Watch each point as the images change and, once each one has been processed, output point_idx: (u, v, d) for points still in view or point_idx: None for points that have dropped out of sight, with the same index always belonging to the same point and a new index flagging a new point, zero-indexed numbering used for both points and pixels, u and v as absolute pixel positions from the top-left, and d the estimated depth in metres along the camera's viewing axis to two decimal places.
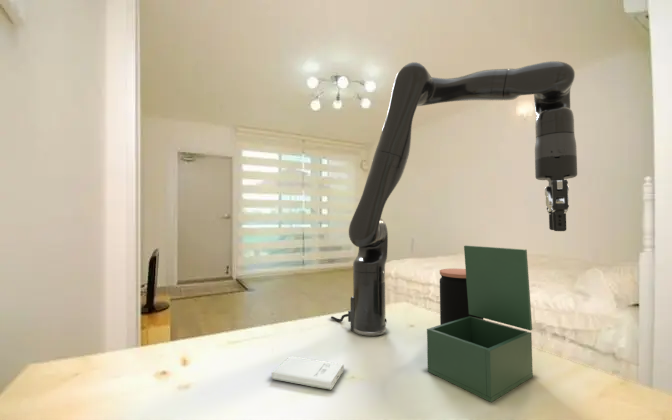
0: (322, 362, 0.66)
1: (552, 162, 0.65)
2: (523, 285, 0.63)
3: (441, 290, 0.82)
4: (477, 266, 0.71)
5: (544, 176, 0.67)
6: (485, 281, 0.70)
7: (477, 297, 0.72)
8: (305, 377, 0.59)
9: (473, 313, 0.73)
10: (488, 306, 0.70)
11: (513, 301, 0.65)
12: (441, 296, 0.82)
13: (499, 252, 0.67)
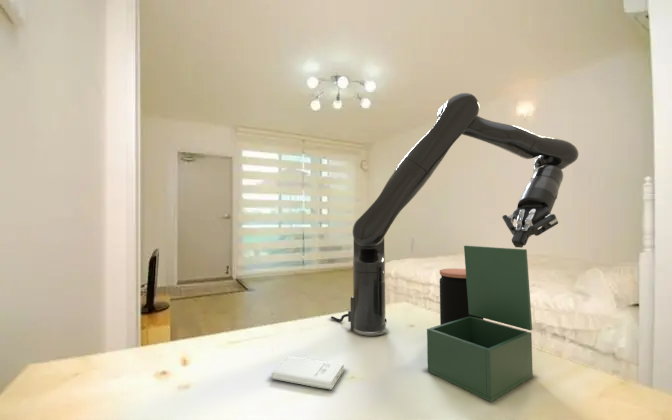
0: (322, 362, 0.66)
1: (551, 198, 0.78)
2: (523, 285, 0.63)
3: (441, 290, 0.82)
4: (477, 266, 0.71)
5: (542, 201, 0.77)
6: (485, 281, 0.70)
7: (477, 297, 0.72)
8: (306, 377, 0.59)
9: (473, 313, 0.73)
10: (488, 306, 0.70)
11: (513, 301, 0.65)
12: (441, 296, 0.82)
13: (499, 252, 0.67)
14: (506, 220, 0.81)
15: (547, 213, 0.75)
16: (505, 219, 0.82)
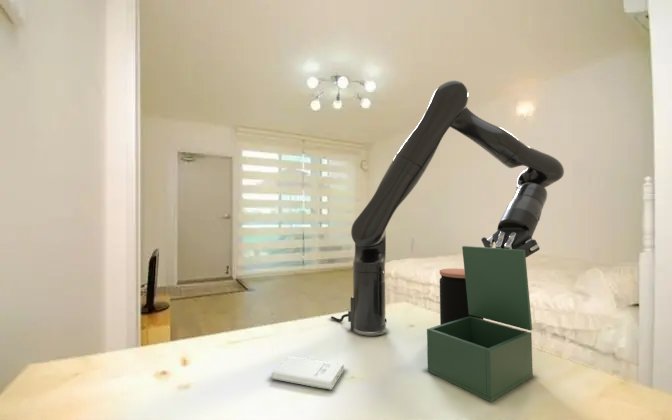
0: (322, 362, 0.66)
1: (533, 220, 0.72)
2: (522, 286, 0.63)
3: (441, 290, 0.82)
4: (475, 266, 0.71)
5: (523, 224, 0.71)
6: (484, 281, 0.69)
7: (476, 297, 0.72)
8: (306, 377, 0.59)
9: (473, 313, 0.73)
10: (488, 306, 0.69)
11: (512, 301, 0.65)
12: (441, 296, 0.82)
13: (497, 253, 0.66)
14: (484, 243, 0.75)
15: (528, 238, 0.69)
16: (484, 242, 0.75)
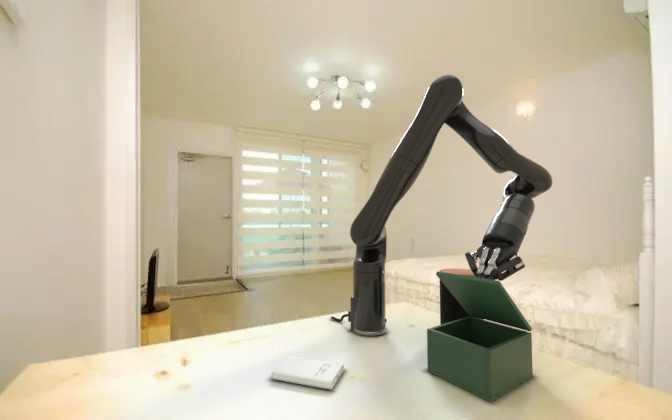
0: (322, 362, 0.66)
1: (519, 235, 0.68)
2: (509, 306, 0.60)
3: (441, 290, 0.82)
4: (457, 288, 0.67)
5: (508, 239, 0.67)
6: (471, 298, 0.66)
7: (470, 306, 0.70)
8: (306, 377, 0.59)
9: (473, 315, 0.73)
10: (484, 313, 0.68)
11: (505, 313, 0.63)
12: (441, 296, 0.82)
13: (473, 282, 0.61)
14: (468, 258, 0.71)
15: (513, 254, 0.65)
16: (468, 257, 0.71)
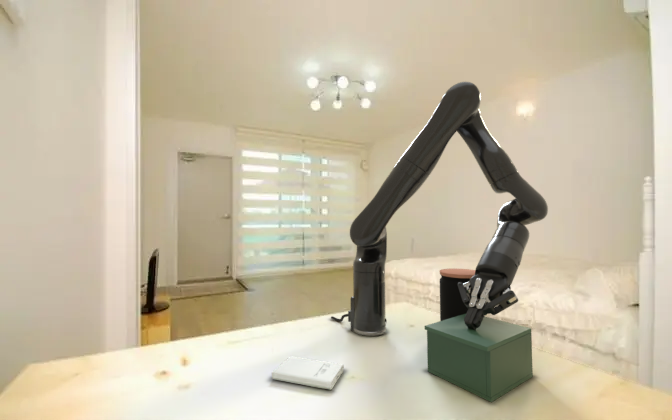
0: (322, 362, 0.66)
1: (512, 266, 0.66)
2: None
3: (441, 290, 0.82)
4: None
5: (501, 271, 0.65)
6: None
7: None
8: (306, 377, 0.59)
9: None
10: None
11: None
12: (441, 296, 0.82)
13: None
14: (460, 289, 0.69)
15: (506, 287, 0.63)
16: (460, 288, 0.69)
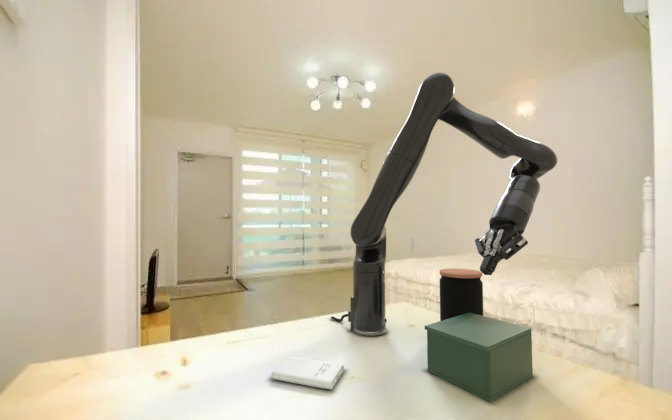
0: (322, 362, 0.66)
1: (521, 214, 0.70)
2: None
3: (441, 290, 0.82)
4: None
5: (510, 220, 0.70)
6: None
7: None
8: (306, 377, 0.59)
9: None
10: None
11: None
12: (441, 296, 0.82)
13: None
14: (477, 243, 0.75)
15: (515, 233, 0.68)
16: (477, 243, 0.75)
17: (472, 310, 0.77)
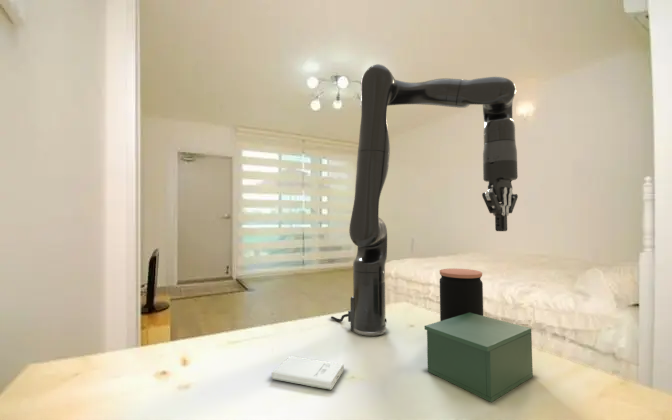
0: (322, 362, 0.66)
1: (488, 167, 0.76)
2: None
3: (441, 290, 0.82)
4: None
5: (485, 179, 0.77)
6: None
7: None
8: (306, 377, 0.59)
9: None
10: None
11: None
12: (441, 296, 0.82)
13: None
14: None
15: (488, 189, 0.75)
16: None
17: (472, 310, 0.77)
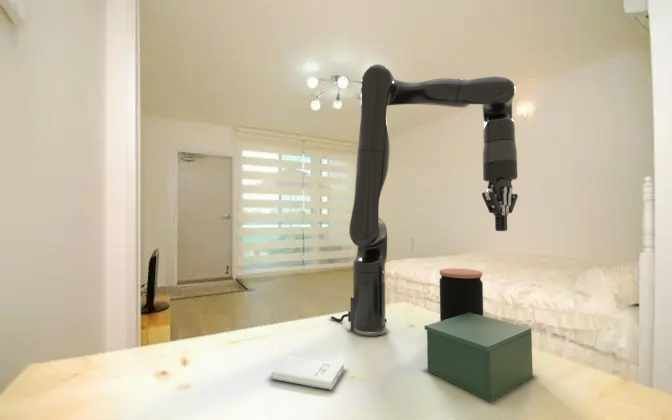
0: (322, 362, 0.66)
1: (488, 167, 0.76)
2: None
3: (441, 290, 0.82)
4: None
5: (485, 179, 0.77)
6: None
7: None
8: (306, 377, 0.59)
9: None
10: None
11: None
12: (441, 296, 0.82)
13: None
14: None
15: (488, 189, 0.75)
16: None
17: (472, 310, 0.77)
